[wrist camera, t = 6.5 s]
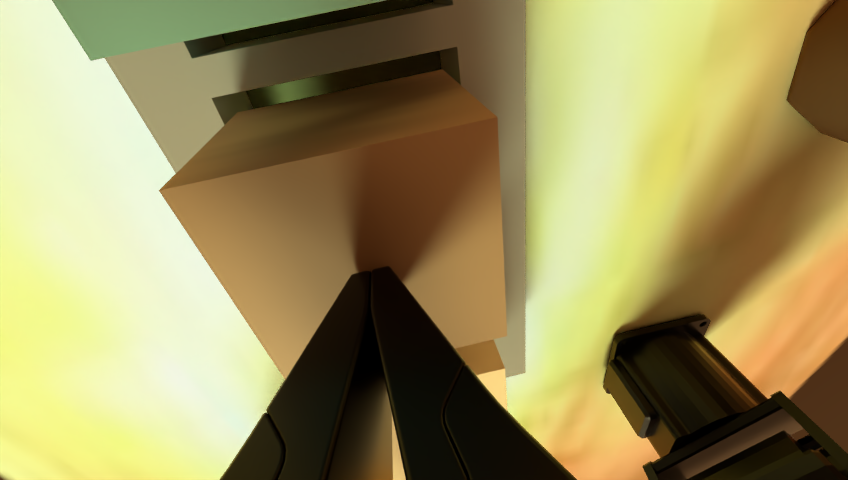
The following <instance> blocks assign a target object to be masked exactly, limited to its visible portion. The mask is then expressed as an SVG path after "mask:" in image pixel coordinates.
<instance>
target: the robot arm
mask: <svg viewBox="0 0 848 480" xmlns="http://www.w3.org/2000/svg"><path fill="white" fill-rule="evenodd" d="M709 324H710V319H708V318H707V317H706V316H705V315H698V316H693V317H689V318H685V319H681V320H677V321H672V322H668V323H664V324H660V325H656V326H652V327H647V328H643V329H639V330H635V331H631V332H627V333H622V334H619V335H618V336H616V337H615V338H614V340H613V345H612V349H611V354H610V358H609V363H608V367H607V372H606V376H605V381H604V385H603V388H604V390H605V391H606V393H608V394H611V395H612V396H613V398H614V399H615V401H616V402H617V404H618V406H619V407H620V409H621V410H622V412H623V413H624V415H625V417H626V418H627V420H628V421H629V423H630V424H631V426H632V428H633V429H634V431H635V432H636V434H637V435H638V436H639V437H641V438H646V437H647V438H648V439H649V441H650V442H651V444H652V446H653V447H654V449H655V450H656V452H657V453H658V455H659V456H660V459H658V460H656V461H654V462H648V463H647V464H645V465H643V469H644V471H645V473H646V475H647V477H648V479H649V480H848V454H847V453H846V452H845V451H844V450H843V449H842V448H841V447H839V445H838V444H837V443H835V442H834V441H833V440H832V439H831V438H830V437H829V436H828V435H827V434H826V433H825V432H824V431H823V430H822V429H820V428H819V427H818V426H817V425H816V424H815V423H814V422H813V421H812V420H811V419H810V418H809V417H808V416H807V415H806V414H804V413H803V412H802V411H801V410H800V409H799V408H798V407H797V406H796V405H795V404H794V403H792V402H791V400H789V399H788V398H787V397H786V396H785V395H784V394H783V393H782V392H781V391H778V392H776V393H774V394H772V395H771V398H770V399H767V398H766V397H765V396H764V395H763V394H762V393H761V392H760V391H759V390H758V389H757V388H756V387H755V386H754V385H753V384H752V383H751V382H750V381H749V380H748V379H747V378H746V377H745V376H744V375H743V374H742V373H741V372H740V371H739V370H738V369H737V368H736V367H735V366H734V365H733V364H732V363H731V362H730V361H729V360H728V359H727V358H726V357H725V356H724V355H723V354H722V353H721V352H720V351H719V350H718V349H717V348H716V347H714V346H713V345H712V344H711V343H710V342H709V341H708V340H707V339H706V338H705V337H704V335H705V333H706V331H707V328H708V326H709ZM266 411H267V413H268V414H267V413H264V414H263V415H262V417H261V418H260V420H259V421H258V423H257V425H256V426H255V428H254V429H253V431H252V433H251V434H250V436H249V437H248V439H247V440H246V442H245V443H244V445H243V446H242V448H241V449H240V451H239V452H238V454H237V455H236V457H235V458H234V460H233V461H232V463H231V464H230V466H229V467H228V469H227V470H226V472H225V473H224V474H223V476H222V477H221V478H220V480H393V453H392V417H393V421H394V426H395V431H396V436H397V440H398V445H399V450H400V454H401V459H402V464H403V469H404V473H405V478H406V480H577V479H576V478H575V477H574V476H573V475H572V474H571V473H570V472H569V471H568V470H567V469H565V468H564V467H563V466H562V465H561V464H560V463H559V462H558V461H557V460H556V459H555V458H554V457H553V456H552V455H551V454H550V453H549V452H548V451H547V450H546V449H545V448H544V447H543V446H542V445H541V444H540V443H539V442H538V441H537V440H536V439H535V438H534V437H533V436H532V435H530V434H529V433H528V432H527V431H526V430H525V429H524V428H523V427H522V426H521V425H520V424H519V423H518V421H517V420H516V419H515V418H514V417H513V416H512V415H511V414H510V413H509V412H508V411H507V410H506V409H505V408H504V407H503V406H502V405H501V404H500V403H499V402H498V401H497V399H496V398H495V397H494V396H493V395H492V393H491V392H490V391H489V390H488V389H487V388H486V386H485V385H484V384H483V383H482V382H481V381H480V379H479V378H478V377H477V376H476V374H475V373H474V372H473V370H472V369H471V368H470V367H469V366H468V365H466V362H465V361H464V359H463V358H462V357H461V356H460V354H459V353H458V352H457V351H456V349H455V348H454V347H453V346H452V344H451V343H450V342H449V340H448V339H447V338H446V337H445V335H444V334H443V333H442V332H441V330H440V329H439V328H438V327H437V325H436V324H435V323H434V322H433V320H432V319H431V318H430V316H429V315H428V314H427V313H426V311H425V310H424V309H423V308H422V306H421V305H420V304H419V303H418V301H417V300H416V299H415V297H414V296H413V295H412V294H411V292H410V291H409V290H408V289H407V287H406V286H405V285H404V284H403V282H402V281H401V280H400V278H399V277H398V276H397V275H396V273H395V272H394V271H393V270H392V268H391V267H389V266H385V267H381V268H376V269H373V270H372V271H371V272H370V271H363V272H359V273H354V274H352V275H351V276H350V278H349V279H348V281H347V282H346V284H345V285H344V287H343V289H342V290H341V292H340V293H339V295H338V297H337V298H336V300H335V301H334V303H333V304H332V306H331V308H330V309H329V311H328V312H327V314H326V316H325V317H324V319H323V320H322V322H321V324H320V325H319V327H318V328H317V330H316V331H315V333H314V335H313V336H312V338H311V339H310V341H309V343H308V344H307V346H306V347H305V349H304V350H303V352H302V354H301V355H300V357H299V358H298V360H297V362H296V363H295V365H294V366H293V368H292V369H291V371H290V373H289V374H288V376H287V377H286V379H285V381H284V382H283V384H282V385H281V387H280V388H279V390H278V392H277V393H276V395H275V396H274V398H273V400H272V401H271V403H270V404H269V406H268V407H267V410H266ZM802 429H805V430H806V431H807V432H808V433H809V435H807V436H805V437H803V438H801V439H799V440H797V441H796V440H795V439H794V438H793V437H791V434H794V433H796V432H798V431H800V430H802Z"/></svg>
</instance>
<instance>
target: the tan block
mask: <svg viewBox="0 0 848 480" xmlns="http://www.w3.org/2000/svg"><path fill="white" fill-rule="evenodd" d="M159 191H160V193H161V194H162V196H163V197H164V199H165V200H166V202H167V203H168V205H169V206H170V208H171V209H172V211H173V212H174V214H175V215H176V217H177V218H178V220H179V221H180V223H181V224H182V226H183V227H184V229H185V230H186V232H187V233H188V235H189V236H190V238H191V239H192V241H193V242H194V244H195V245H196V247H197V248H198V250H199V251H200V253H201V254H202V256H203V257H204V259H205V260H206V262H207V263H208V265H209V266H210V268H211V269H212V271H213V272H214V274H215V275H216V277H217V278H218V280H219V281H220V283H221V284H222V286H223V287H224V289H225V290H226V292H227V293H228V295H229V296H230V298H231V299H232V301H233V302H234V304H235V305H236V307H237V308H238V310H239V311H240V313H241V314H242V316H243V317H244V319H245V320H246V322H247V323H248V325H249V326H250V328H251V329H252V331H253V332H254V334H255V335H256V337H257V338H258V340H259V341H260V343H261V344H262V346H263V347H264V349H265V350H266V352H267V353H268V355H269V356H270V357H271V359H272V360H273V362H274V363H275V365H276V366H277V368H278V369H279V371H280V372H281V374H282V375H283V377H284V378H285V379H286V377H287V376H288V374H289V373H290V371H291V369H292V368H293V366H294V365H295V363H296V362H297V360H298V358H299V357H300V355H301V354H302V352H303V350H304V349H305V347H306V346H307V344H308V343H309V341H310V339H311V338H312V336H313V335H314V333H315V331H316V330H317V328H318V327H319V325H320V324H321V322H322V320H323V319H324V317H325V316H326V314H327V312H328V311H329V309H330V308H331V306H332V304H333V303H334V301H335V300H336V298H337V297H338V295H339V293H340V292H341V290H342V289H343V287H344V285H345V284H346V282H347V281H348V279H349V278H350V276H351V275H352V274H354V273H359V272H363V271H370V272H371V271H372V270H373V269H376V268H381V267H385V266H389V267H391V268H392V270H393V271H394V272H395V273H396V275H397V276H398V277H399V278H400V280H401V281H402V282H403V284H404V285H405V286H406V287H407V289H408V290H409V291H410V292H411V294H412V295H413V296H414V297H415V299H416V300H417V301H418V303H419V304H420V305H421V306H422V308H423V309H424V310H425V311H426V313H427V314H428V315H429V316H430V318H431V319H432V320H433V322H434V323H435V324H436V325H437V327H438V328H439V329H440V330H441V332H442V333H443V334H444V335H445V337H446V338H447V339H448V340H449V342H450V343H451V344H452V346H453V347H454V348H459V347H463V346H468V345H472V344H476V343H480V342H484V341H489V340H493V339H497V338H501V337H506V336H507V321H506V298H505V276H504V253H503V231H502V208H501V186H500V163H499V140H498V118H497V116H496V115H494V114H493V113H492V112H491V111H490V110H489V109H488V108H486V107H485V106H484V105H483V104H482V103H481V102H479V101H478V100H477V99H476V98H475V97H474V96H473V95H471V94H470V93H469V92H468V91H467V90H466V89H465V88H463V87H462V86H461V85H460V84H459V83H458V82H456V81H455V80H454V79H453V78H452V77H451V76H450V75H448V74H447V73H446V72H445V71H444V70H443V69H441V70H436V71H431V72H427V73H422V74H417V75H412V76H408V77H403V78H398V79H394V80H389V81H384V82H379V83H375V84H370V85H365V86H360V87H356V88H351V89H346V90H341V91H337V92H332V93H327V94H322V95H318V96H313V97H308V98H303V99H299V100H294V101H289V102H285V103H280V104H275V105H270V106H266V107H261V108H256V109H251V110H247V111H242V112H237V113H236V114H235V115H234V116H233V117H232V118H231V119H230V120H229V121H228V122H227V123H226V124H225V125H224V126H223V127H222V128H221V129H220V130H219V131H218V132H217V133H216V134H215V135H214V136H213V137H212V138H211V139H210V140H209V141H208V142H207V143H206V144H205V145H204V146H203V147H202V148H201V149H200V150H199V151H198V152H197V153H196V154H195V155H194V156H193V157H192V158H191V159H190V160H189V161H188V162H187V163H186V164H185V165H184V166H183V167H182V168H181V169H180V170H179V171H178V172H177V173H176V174H175V175H174V176H173V177H172V178H171V179H170V180H169V181H168V182H167V183H166V184H165V185H164V186H163V187H162V188H161V189H160V190H159Z"/></svg>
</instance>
